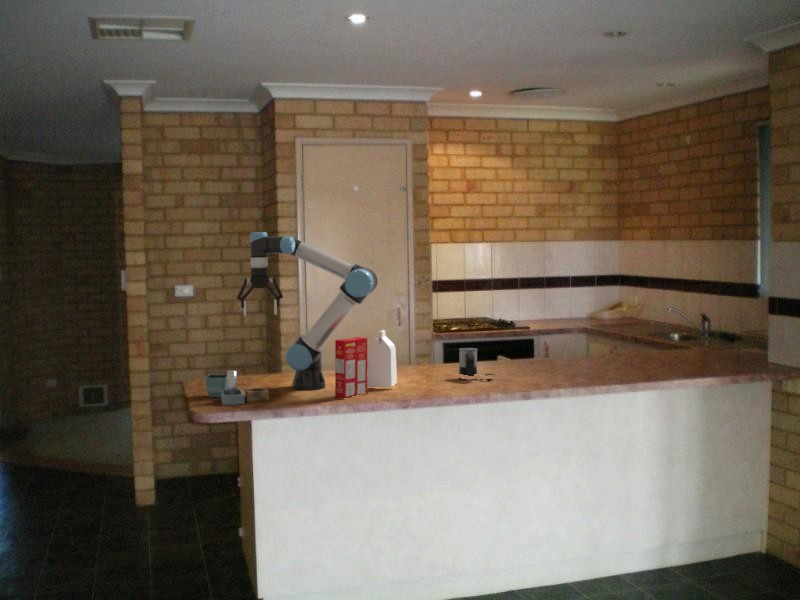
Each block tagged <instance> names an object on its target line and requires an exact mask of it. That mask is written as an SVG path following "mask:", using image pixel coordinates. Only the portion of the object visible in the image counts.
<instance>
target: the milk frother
mask: <svg viewBox="0 0 800 600" xmlns="http://www.w3.org/2000/svg"><path fill="white" fill-rule="evenodd" d="M458 350H459V355H458V357H459V358H458V361H459V362H458V365H459V366H458V367H459V368H458V369H459V370H458V375H459V374H463V375H468V376H474V374H477V375H478V350H479V349H478V348H476V347H475V348H474V347H461V348H458ZM483 375H486V376H487V375H494V376H495V374H492V373H487V374H486V373H485V374H483Z"/></svg>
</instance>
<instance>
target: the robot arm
mask: <svg viewBox="0 0 800 600" xmlns="http://www.w3.org/2000/svg"><path fill="white" fill-rule="evenodd" d="M249 238H250V239H249V246H250V247H249V249H250V251H249V252H250V254H249V255H250V267H251V268H250V278H246V277H244V278H243V284H242V285H241V287H240V290H239V291H238V294H237V296H236V299H237V300H239V301H240V308H241V309H243V316H247V301H246V300H245V299H246V298H247V297H248V296H249V295H250V294H251V293H252V291H253V290H254V289H264V288H266V289H267V290H268V292H269V293H270V295H272V297H274V298H275V299H274V300H273V302H274V303H273V304H274V305H273V307H274V309H273V310H274V313H273V314H274V315H278V308H279V307H280V300H281V299H283V298H284V295H283V294H282V291H281V289H280V288H279V286H278V284H277V281H276V278H275V277H271V278H269V268H268V266H269V262H268V257H269V256H268V254H285V255H287V254H289V255H291V256H293V257H296V258H298V259H299V260H302V261H303V262H306V263H308V264H310V265H312V266H314V267H317V268H319V269H321V270H323V271H325V272H326V273H330V274H331V275H334V276H336V277H338V278H340V279H342V280H344V281H343V282H342V284H341V285H340V286H339V293H338V294H337V296H336V297H335V298H334V299H333V300H332V302H331V303H330V304H329V305H328V307H327V308H326V309H325V310H324V311H323V313H322V314H321V315H320V316H319V318H318V319H317V320H316V322H315V323H313V325H312V326H311V328H310V329H309V330H308V332H307V333H303V334H301V335H299V337H296V339H295V342H294V343H293V344H292V345H290V346H288V348H287V350H286V353H285V361H286V363H287V365H288V366H289V367H290V368H291V369H292V370H294V371H295V373H294V376H293V379H292V382H291V383H292V384H291V385H292V388H293V389H295V390H307V391H308V390H309V391H310V390H321V389H323V388H326V380H325V376H324V374H323V370H322V364H323V363H322V360H323V359H322V355H323V354H322V351H323V347H322V346H323V345H324V344H325V343H326V341H328V339H329V338H330V337H331V335H333V333H334V331H335V330H336V329H337V328H338V327H339V325H340V324H341V323H342V321H344V320H345V318H346V317H347V316H348V315H349V313H350V312H351V311H352V310H353V308H354V307H355V306H357V305H361V304H363V301H364V300H365V299H366V298H367V296H369V294H371V293H373V292H374V290H375V289H377V285H378V277H377V275H376V274H377V273H375V272H374V270H372V269H370V268H367V267H364V266H361V265H359V264H357V263H352V264H351V263H349V262H347V261H345V260H343V259H340V258H339V257H336V256H335V255H332V254H330V253H328V252H326V251H323V250H321V249H320V248H318V247H314V246H312V245H311V244H308V243H306V242H304V241H301V240H299V239H298V238H297V237H295V236H292V235H287V236H286V235H282V236H281V235H280V236H269V235H268V233H267V232H265V231H263V232H262V231H261V232H260V231H256V232H255V231H254V232H253V231H252V232H250V236H249ZM249 282H250V283H251V285H250V287H249V288H248V289H247V290H246V292H245V293H244V291H245V289H246V286H247V284H249ZM269 282H270V283H272V285H273V287H274V289H275V291H276V292H277V294H278V295H277V294H276V292H274V290H273V289H272V288H271V287H270V285H268V283H269ZM243 293H244V294H243Z"/></svg>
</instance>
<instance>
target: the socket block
mask: <svg viewBox="0 0 800 600" xmlns="http://www.w3.org/2000/svg"><path fill="white" fill-rule="evenodd" d="M269 393H270V392H269V389H268V388H267V387H252V388H251V387H249V388H245V399H246V402H247V403H248V402H249V403H250V402H252V403H253V402H269V401H270V395H269Z"/></svg>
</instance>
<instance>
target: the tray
mask: <svg viewBox="0 0 800 600" xmlns="http://www.w3.org/2000/svg"><path fill="white" fill-rule="evenodd" d="M220 402H221V405H222V406H236V405H237V406H238V405H239V404H242V405H245V393H244V391H243V388H237V395H228V389H226V390H221V398H220Z"/></svg>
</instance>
